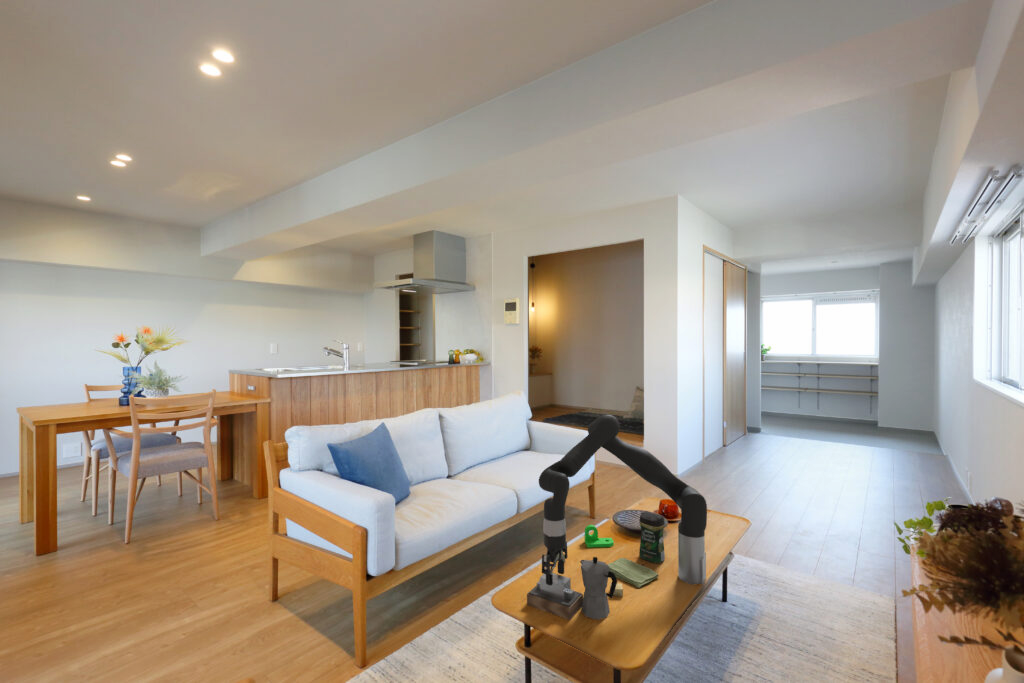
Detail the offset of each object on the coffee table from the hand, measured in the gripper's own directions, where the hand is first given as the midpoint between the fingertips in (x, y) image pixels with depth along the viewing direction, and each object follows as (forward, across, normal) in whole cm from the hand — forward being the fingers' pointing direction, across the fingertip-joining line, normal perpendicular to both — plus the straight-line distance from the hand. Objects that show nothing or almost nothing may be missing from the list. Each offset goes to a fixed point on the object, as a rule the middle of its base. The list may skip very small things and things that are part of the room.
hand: (555, 578), depth 158 cm
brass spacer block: (+10, -18, +15) cm, 25 cm away
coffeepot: (+10, -4, +14) cm, 17 cm away
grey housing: (+5, 0, 0) cm, 5 cm away
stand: (+9, 0, 0) cm, 9 cm away
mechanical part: (+10, -52, -5) cm, 53 cm away
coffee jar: (+10, -51, +18) cm, 55 cm away
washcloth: (+10, -34, +15) cm, 38 cm away
